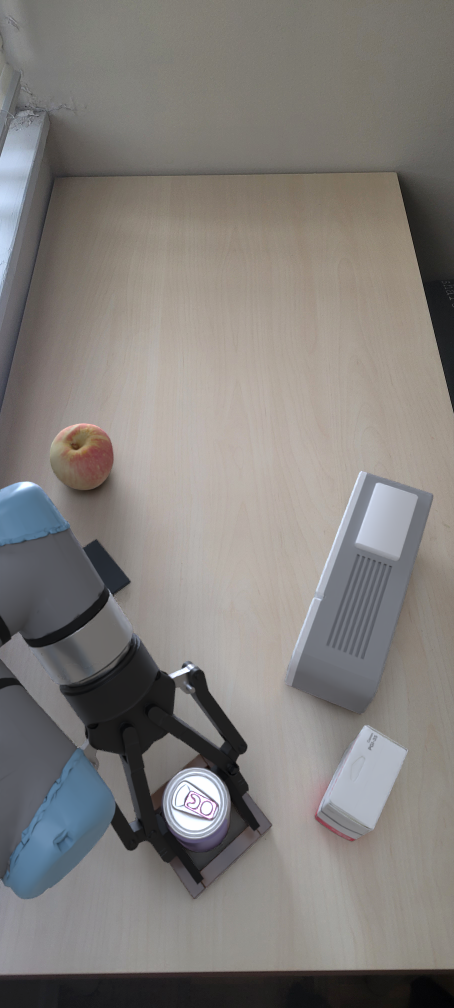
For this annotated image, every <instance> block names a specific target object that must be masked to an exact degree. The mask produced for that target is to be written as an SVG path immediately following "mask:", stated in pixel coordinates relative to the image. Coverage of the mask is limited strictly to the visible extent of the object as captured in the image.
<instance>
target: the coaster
mask: <svg viewBox="0 0 454 1008" xmlns="http://www.w3.org/2000/svg"><path fill="white" fill-rule="evenodd" d="M82 548H83V550H84V551H85V553H86V555H87V556H88V558H89V560H90V561H91V563H92V565H93V566H94V568H95V570H96V571H97V573H98V575H99V576H100V578H101V580H102V581H103V583H104V584H105V586H106V587H107V589H109V591H110V592H111V594H112V596H113V595H115V594H116V593H118V592H119V591H121V590H122V589H123V588H125V587H126V586H128V585H129V584H130V583H131V580H130V578H129V577H128V576H127V575H126V573H125V572H124V571H123V570H122V568H121V567H120V566H119V565H118V564H117V562H116V561H115V560H114V559H113V557H112V556H111V555H110V554H109V553H108V551H107V550H106V549H105V547H104V546H103V545H102V544H101V542H100V541H99V540H98V539H97V538H95V539H93V540H92V541H90V542H89V543H87V545H84V546H83V547H82Z"/></svg>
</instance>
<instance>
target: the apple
mask: <svg viewBox="0 0 454 1008" xmlns="http://www.w3.org/2000/svg"><path fill="white" fill-rule="evenodd" d="M113 448H114V447H113V442H112V440H111V438H110V436H109V434H108V433H107V432H106V431H105V430H104V429H103V428H101V427H100V426H98V425H96V424H91V423H76V424H72V425H68V426H67V427H65V428H63V429H61V431H59V432H58V433H57V435H56V436H55V437H54V439H53V441H52V443H51V445H50V449H49V463H50V468H51V470H52V472H53V474H54V475H55V476H56V477H57V479H58V481H60V482H61V483H62V484H63V485H65V486H67V487H69V488H71V489H74V490H79V491H88V490H89V491H90V490H93V489H96V488H97V487H100V485H102V484H103V483H104V482H105V481H106V480H107V478H109V476H110V474H111V471H112V469H113V466H114V461H115V457H114V456H115V455H114V449H113Z"/></svg>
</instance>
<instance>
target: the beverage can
mask: <svg viewBox="0 0 454 1008" xmlns="http://www.w3.org/2000/svg"><path fill="white" fill-rule="evenodd" d="M179 771H180V770H179ZM179 771H178V772H179ZM178 772H176V773H177V774H176V773H175V774H176V775H175V774H174V775H175V776H174V775H173V776H174V777H173V776H172V777H173V778H172V777H171V778H172V779H171V780H170V781H169V783H168V784H167V786H166V788H165V790H164V793H163V796H162V804H161V808H162V812H161V816H162V819H163V820H164V822H165V824H166V825H167V827H168V829H169V830H170V831H171V832H172V834H173V835H174V836H175V837H176V839H177V840H178V842H179V843H180V845H181V846H182V847H183V848H184V849H186V850H188V851H192V852H193V853H207V852H210V851H212V850H214V849H216V848H217V847H219V846H220V845H221V843H223V842H224V840H225V838H226V836H227V834H228V832H229V829H230V822H231V805H232V802H231V801H230V794H229V791H228V788H227V786H226V784H225V783H224V781H223V780H222V778H221V777H220V776H219V775H217V774H216V773H215V772H213V771H211V770H209V769H207V768H203V767H191V768H187V769H184V770H182V771H180V772H179V773H178Z"/></svg>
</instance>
